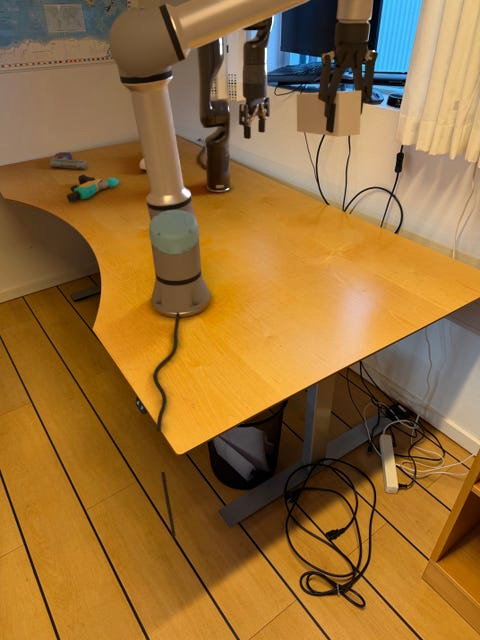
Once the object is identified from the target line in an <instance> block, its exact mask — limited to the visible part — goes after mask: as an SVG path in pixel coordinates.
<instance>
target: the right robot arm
mask: <svg viewBox="0 0 480 640" xmlns="http://www.w3.org/2000/svg"><path fill="white" fill-rule="evenodd" d="M274 19H275V15H274V16H272V17H270V18H267V19H265V20H262V21H260V22H258V23H255V24H253V25H250V26H248V27H246V28H243V29H242V30H243V31H245V32H253V31H256V33H255V36H254V37H253V38H251V39H249V40H246V41H245V42H244V43H243V46H242V60H243V61H242V63H243V64H242V97H243V98H244V99H245V103H240V104H238V105H239V106H238V125H239V126H242V127H243V139H245V140H250V139H251V138H252V127H251V125H252V122H253V121H254V120H255V118H256V117H257V118H258V122H257V123H258V124H257V125H258V126H257V131H258V132H259V133H262V134H263V133H265V132H266V121H267V119H268V118H270V109H271V108H270V107H271V106H270V104H271V103H270V101H271V100H270V97H269V96H268V45H269V42H270V37H271V32H272V29H273V25H274ZM196 51H197V52H196V53H197V66H198V67H197V68H198V88H199V89H198V103H199V104H198V115H199V122H200V124H201V126H202V128H204V129H213V128H216V129H215V130H214V131H213V132H212V133H211V134H209V135H207V136H206V137H205V138H204V139H205V141H204V145H205V146H204V148H203V149H202V151H201V152H200V153H199V155H198V160H199V163H200V164H201V165H202V167H204V168H205V172H206V174H205V175H206V187H207V188H206V189H207V191H208V192H211V193H216V194H221V193H222V194H223V193H226V192H229V191H230V190H231V157H230V156H231V155H230V154H231V153H230V138H231V106H230V104H229V102H228V100H227V99H225V98H221V99H220V98H218V99H211V96H212V89H213V86H214V83H215V80H216V78H217V76H218V75H219V72H220V71H221V68H222V66H223V64H224V61H225V39H224V37H222V38H219V39H217V40H215V41H212V42H210V43H208V44H205V45H203V46H200V47H198V48H196ZM198 141H201V139H200V138H199V139H198ZM204 152H205V164H204V163H203V161H202V160H201V159H202V158H201V157H202V155H203V154H204Z"/></svg>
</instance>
